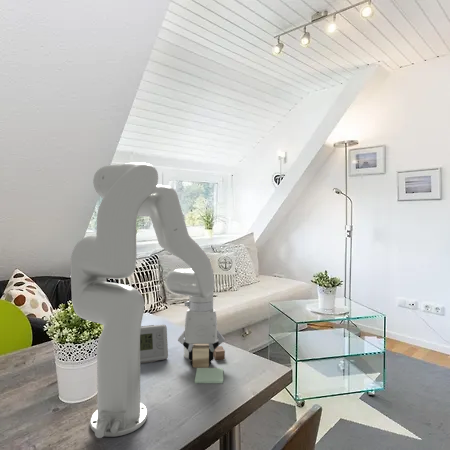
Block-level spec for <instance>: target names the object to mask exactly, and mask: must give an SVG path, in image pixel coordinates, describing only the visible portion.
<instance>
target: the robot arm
mask: <svg viewBox="0 0 450 450" xmlns="http://www.w3.org/2000/svg"><path fill="white" fill-rule="evenodd" d="M92 180H93V182H92V183H93V188H94V191H96V193H97V194H98V196H99V197H101V198H102V200H101V202H100V203H99V206H98V209H97V215H96V235H89V236H85V237H84V238H81V239H80V240H79V241H78V242H77V243H76V244H75V246H73V247H74V248H73V250H72V251H71V255H70V285H71V287H70V289H71V290H70V291H71V304H72V307H73V310H74V313H75V314H76V315H77V316H78V318H81V319H82V320H85V321H88V322H93V323H97V324H100V325H103V326H102V327H103V329H102V331H101V333H100V336H99V337H98V341H97V344H96V375H97V376H96V377H97V378H96V380H97V381H96V382H97V383H96V387H97V389H96V390H97V392H96V393H97V395H96V396H97V400H96V401H97V409H96V410H95V411H94V412H93V413H92V415H91V416H90V421H89V423H90V425H89V427H90V429H91V430H92V431H93V432H94V435H95V437H96V438H97V439H101V438H103V437H111V438H112V437H114V438H115V437H120V436H125V435H128V434H130V433H133V432H134V431H137V430H138V429H139V428H141V427H142V426H143V425H144V424H145V423H146V421H147V420H148V419H147V418H148V409H147V407H146V406H145V405H144V404H143V403H142V402H141V363H140V331H141V326H142V322H143V317H144V313H145V312H144V311H145V298H144V296H143V295H142V293H141V292H140V290H138V289H137V288H135V287H133V286H131V285H128V284H123V283H117V282H109V281H107V279H111V280H112V279H113V280H124V279H128V278H129V277H131V276H132V275H133V274H134V273H135V270H136V267H137V258H138V257H137V255H138V253H137V218H138V217H149V218H150V221H151V222H152V223H151V224H152V226H153V229H154V232H155V236H156V239H157V241H158V244H159V246H160V247H161V248H162V249H164V251H167V252H168V253H170V254H171V255H173V256H175V257H177V258H179V259H180V260H182V261H183V262H184V263H186V265H188V267H189V268H188V267H187V268H176V269H173V270H171V271H170V273H169V274H168V275H167V277H166V281H165V283H166V287H167V289H168V290H169V291H170V292H171V293H173V294H175V295H181V296H188V298H189V300H187V301H184V307H188V309H187V310H186V313H185V319H184V321H185V322H184V330H183V332H182V333H181V334H180V335H179V337H178V338H177V341H178V343H180V344H182V345H183V348H184V347H185V348H186V349H187V350H188V351H189V359H188V360H189V361H190V364H191V365H193V344H209V365H211V364H212V361H214V356H213V351H214V350H215V349H216V348H217V347H218V346H221V344H223V343H224V342H225V337H224V336H223V335H222V334H221V332H220V331H219V330H218V319H217V312H216V309H215V308H214V289H215V276H214V275H215V274H214V270H213V267H212V264H211V261H210V258H209V256H208V254H206V252H205V251H204V250H203V248H202V247H201V246H200V245H199V244H198V243H197V242H196V241H195V240H194V239H193V238H192V237H191V236H190V235H189V232H188V228H187V224H186V220H185V218H184V214H183V210H182V206H181V204H180V199H179V195H178V193H177V191H176V190H175V189H174V188H173V187H171V186H170V185H163V184H158V183H159V173H158V171H157V168H156V167H155V166H154V165H152V164H150V163H146V162H128V163H127V162H126V163H120V164H108V165H104V166H102V167H100V168H98V169H97V171H96V172H95V173H94V176H93V179H92Z"/></svg>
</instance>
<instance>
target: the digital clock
mask: <svg viewBox="0 0 450 450" xmlns="http://www.w3.org/2000/svg"><path fill="white" fill-rule="evenodd" d="M168 346H169V345H168V329H167V325H166V324H155V325H154V324H151V325H141V331H140V364H146V363H154V362H158V361H163V360H164V361H165V360H167V359H169V358H168V357H169V347H168Z"/></svg>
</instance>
